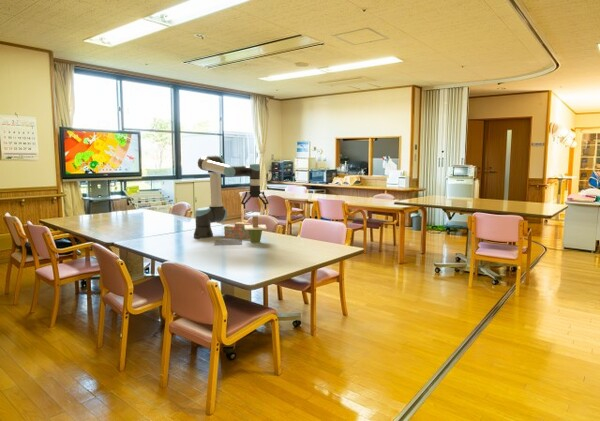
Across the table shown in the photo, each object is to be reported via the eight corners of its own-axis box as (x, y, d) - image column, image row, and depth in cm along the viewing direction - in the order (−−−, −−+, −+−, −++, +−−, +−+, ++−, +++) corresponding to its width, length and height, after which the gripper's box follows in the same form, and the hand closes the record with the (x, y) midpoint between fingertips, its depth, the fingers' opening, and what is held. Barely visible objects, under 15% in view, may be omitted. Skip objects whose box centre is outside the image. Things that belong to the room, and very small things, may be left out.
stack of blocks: (224, 237, 326) (223, 222, 324) (227, 236, 332) (227, 221, 330) (249, 239, 320) (249, 223, 319) (252, 237, 326) (252, 222, 325)
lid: (244, 226, 313) (244, 214, 312) (265, 225, 316) (265, 214, 314) (244, 229, 298) (244, 217, 296) (266, 229, 300) (266, 217, 299)
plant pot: (248, 244, 301) (248, 229, 300) (247, 241, 313) (246, 226, 311) (264, 243, 303) (264, 228, 302) (262, 240, 315) (262, 226, 314)
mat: (215, 240, 314) (215, 239, 314) (242, 240, 317) (242, 239, 317) (214, 246, 294) (213, 245, 294) (242, 245, 297) (242, 244, 297)
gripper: (237, 185, 297) (237, 214, 300) (272, 185, 301) (271, 214, 303) (237, 184, 305) (238, 212, 307) (271, 184, 308) (271, 212, 311)
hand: (254, 213), depth 305 cm, fingers open, 13 cm apart
